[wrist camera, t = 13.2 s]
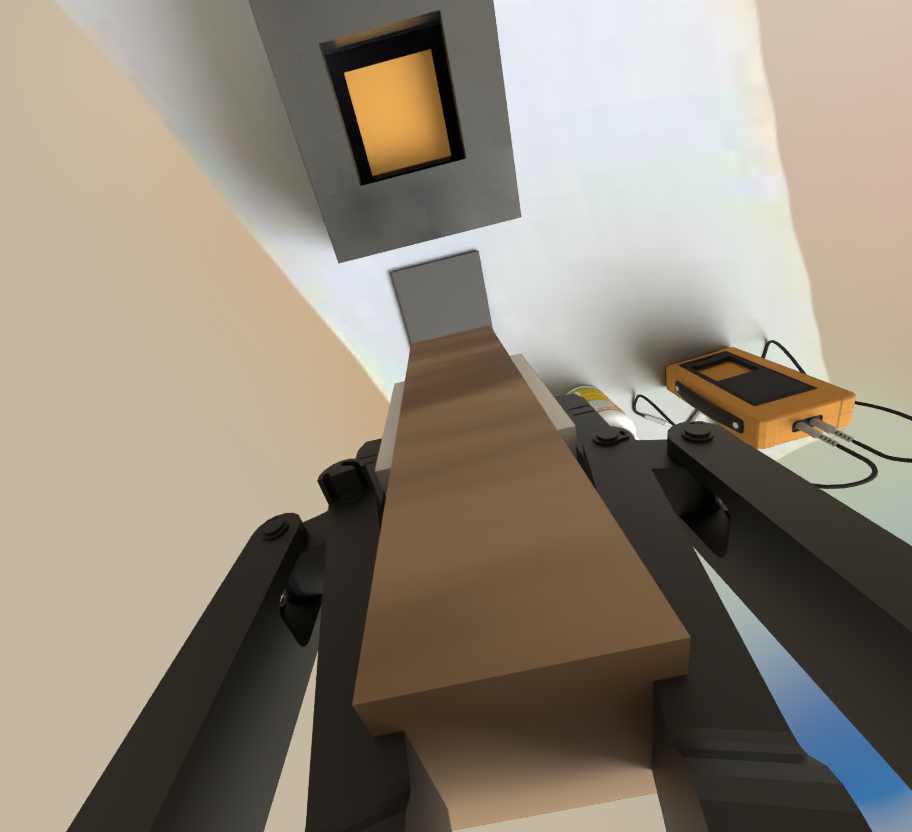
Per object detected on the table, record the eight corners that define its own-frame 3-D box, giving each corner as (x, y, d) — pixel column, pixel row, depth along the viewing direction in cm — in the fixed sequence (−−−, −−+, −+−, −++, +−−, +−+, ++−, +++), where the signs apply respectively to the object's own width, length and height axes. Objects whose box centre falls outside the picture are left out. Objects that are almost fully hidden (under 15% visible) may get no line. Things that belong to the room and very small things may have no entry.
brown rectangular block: (411, 343, 19) (351, 704, 4) (489, 324, 19) (691, 637, 4) (430, 413, 21) (435, 834, 6) (502, 396, 20) (677, 789, 6)
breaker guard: (298, 47, 27) (233, -44, 18) (461, 2, 26) (478, -115, 18) (362, 254, 33) (338, 263, 24) (495, 220, 33) (521, 217, 24)
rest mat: (391, 272, 34) (391, 272, 34) (478, 250, 34) (478, 251, 33) (415, 355, 38) (415, 356, 37) (493, 336, 37) (494, 337, 37)
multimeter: (635, 451, 44) (775, 600, 27) (628, 375, 40) (789, 492, 22) (761, 415, 43) (995, 546, 25) (768, 333, 39) (1057, 421, 21)
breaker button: (361, 105, 28) (344, 72, 22) (430, 87, 27) (430, 49, 22) (383, 186, 30) (372, 176, 24) (446, 169, 30) (451, 155, 24)
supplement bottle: (602, 427, 43) (646, 477, 34) (555, 430, 42) (587, 482, 34) (607, 382, 40) (657, 424, 32) (558, 386, 40) (593, 429, 31)
